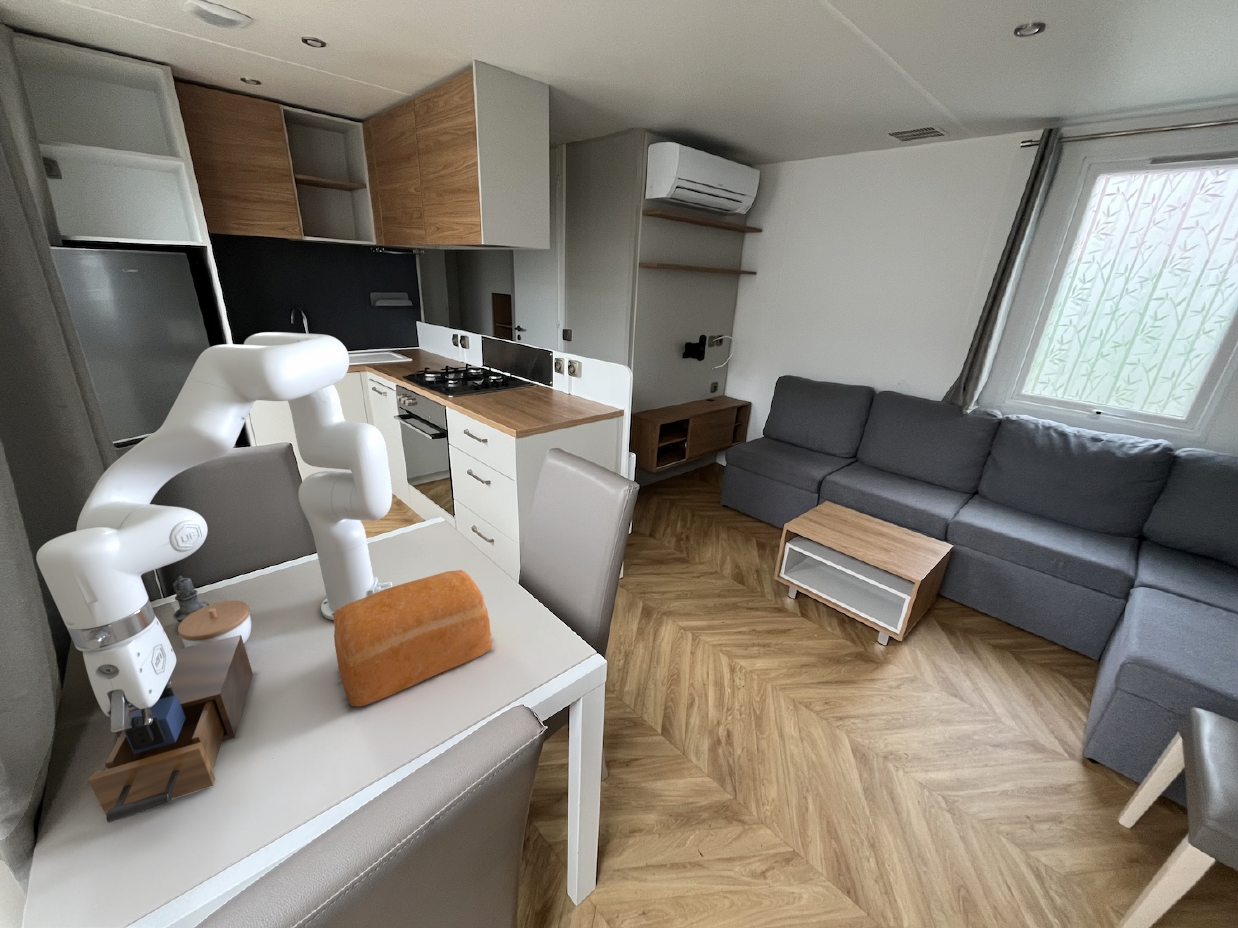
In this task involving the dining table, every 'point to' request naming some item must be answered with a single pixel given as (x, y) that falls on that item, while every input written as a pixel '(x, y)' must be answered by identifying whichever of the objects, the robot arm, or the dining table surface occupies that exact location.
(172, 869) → the dining table surface
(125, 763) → the drawer
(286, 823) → the dining table surface
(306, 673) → the dining table surface
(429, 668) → the bread
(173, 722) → the block
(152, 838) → the dining table surface
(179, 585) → the grey tall ridged piece
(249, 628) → the trinket box
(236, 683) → the cabinet
